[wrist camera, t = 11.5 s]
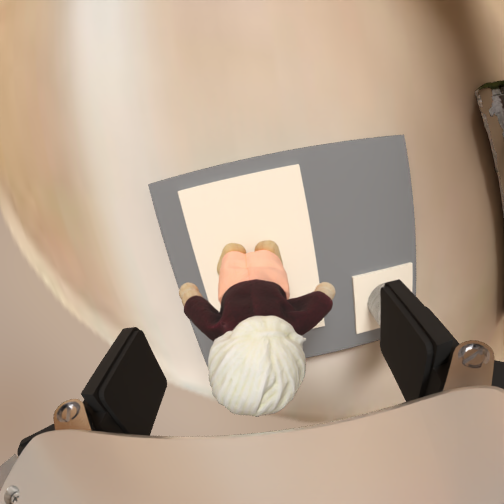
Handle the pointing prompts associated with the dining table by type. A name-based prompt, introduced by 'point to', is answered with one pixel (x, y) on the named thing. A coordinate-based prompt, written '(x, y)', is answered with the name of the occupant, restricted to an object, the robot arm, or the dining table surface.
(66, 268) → the dining table surface
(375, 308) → the pin
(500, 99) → the model building
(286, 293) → the grandmother figurine
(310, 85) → the dining table surface
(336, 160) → the board
